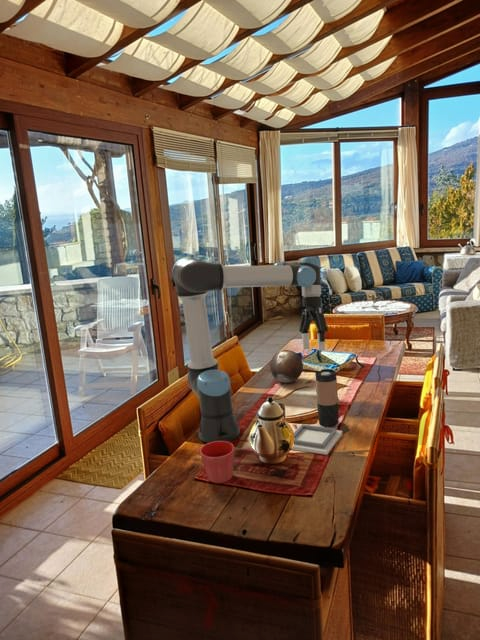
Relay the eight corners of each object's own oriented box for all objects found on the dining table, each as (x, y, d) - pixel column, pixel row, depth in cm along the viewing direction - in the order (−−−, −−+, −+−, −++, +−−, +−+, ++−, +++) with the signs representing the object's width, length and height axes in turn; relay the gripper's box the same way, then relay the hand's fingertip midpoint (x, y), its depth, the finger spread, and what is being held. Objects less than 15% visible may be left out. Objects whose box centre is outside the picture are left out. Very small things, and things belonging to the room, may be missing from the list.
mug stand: (282, 447, 177) (281, 441, 176) (300, 428, 190) (299, 422, 190) (327, 454, 169) (326, 448, 169) (342, 434, 183) (342, 427, 182)
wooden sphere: (268, 387, 234) (266, 356, 231) (274, 376, 248) (272, 346, 245) (301, 387, 231) (299, 355, 227) (305, 376, 245) (303, 345, 241)
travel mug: (339, 427, 188) (336, 375, 183) (317, 427, 189) (314, 376, 185) (339, 418, 195) (336, 368, 191) (318, 419, 197) (315, 369, 192)
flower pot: (207, 489, 155) (203, 460, 153) (200, 472, 166) (196, 444, 164) (241, 481, 158) (238, 452, 156) (232, 465, 168) (229, 437, 166)
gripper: (335, 294, 195) (337, 350, 195) (306, 298, 219) (308, 348, 219) (317, 294, 193) (319, 351, 193) (290, 298, 217) (291, 349, 216)
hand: (313, 349), depth 206 cm, fingers open, 13 cm apart
